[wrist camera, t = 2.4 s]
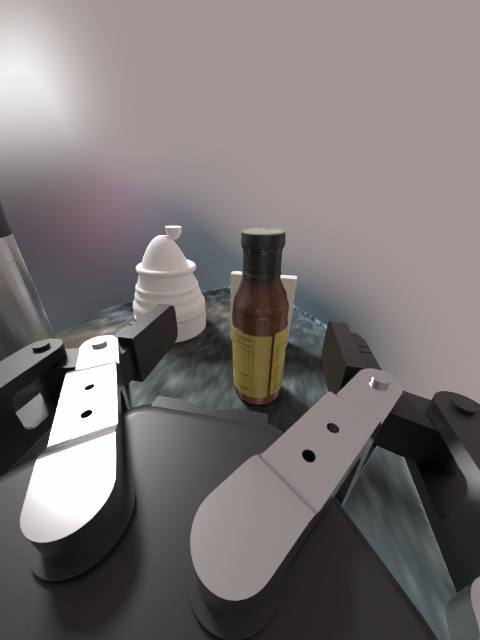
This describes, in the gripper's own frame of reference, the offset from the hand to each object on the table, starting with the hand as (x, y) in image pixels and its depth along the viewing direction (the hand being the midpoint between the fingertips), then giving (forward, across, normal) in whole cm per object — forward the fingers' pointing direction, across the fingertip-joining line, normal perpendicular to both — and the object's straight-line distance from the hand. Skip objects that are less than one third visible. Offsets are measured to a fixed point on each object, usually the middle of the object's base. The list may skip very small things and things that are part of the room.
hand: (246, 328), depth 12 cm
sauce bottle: (+12, 0, +16) cm, 21 cm away
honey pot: (+26, +18, +16) cm, 36 cm away
